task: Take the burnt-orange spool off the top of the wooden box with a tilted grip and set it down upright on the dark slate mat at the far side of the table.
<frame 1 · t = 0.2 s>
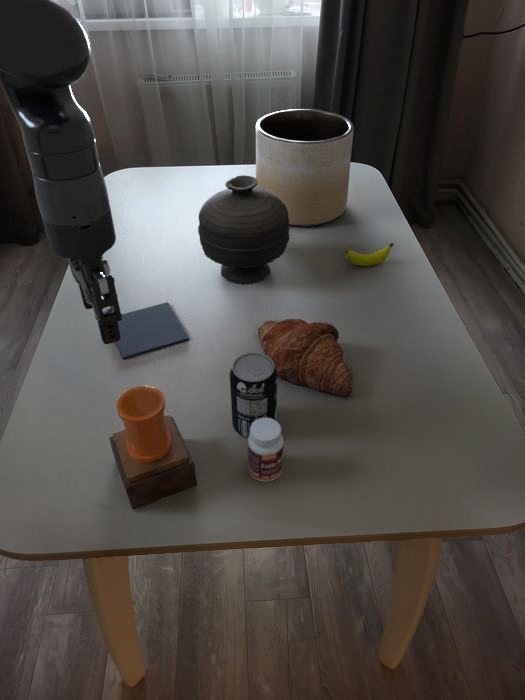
hand: (102, 323, 72), 18 cm above the table, tool pointing down, fingers open, 8 cm apart
mat: (146, 330, 101), on the table
spool: (149, 444, 73), point 6 cm above the table, touching wooden box
pot: (245, 272, 115), on the table
wooden box: (155, 472, 77), on the table
pill bottle: (265, 469, 77), on the table
fruit: (366, 266, 117), on the table
pastry: (301, 364, 94), on the table
planter: (300, 208, 137), on the table
beverage can: (254, 425, 83), on the table
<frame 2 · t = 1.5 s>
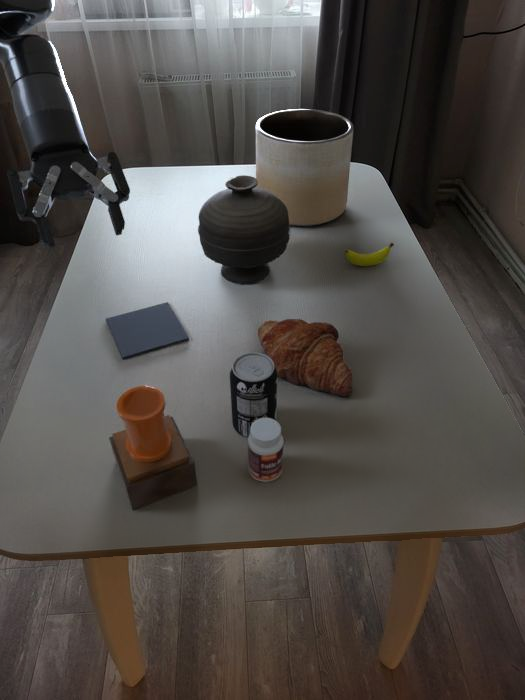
hand: (86, 240, 72), 27 cm above the table, tool tilted 45°, fingers open, 8 cm apart
nothing on the table moved.
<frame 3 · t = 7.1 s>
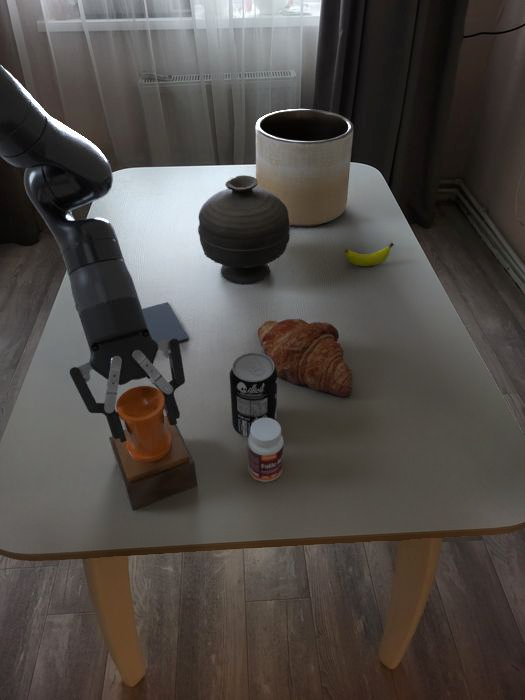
hand: (149, 432, 69), 10 cm above the table, tool tilted 45°, fingers closed on spool, 6 cm apart
spool: (149, 444, 73), point 6 cm above the table, touching gripper, wooden box
everything else where it was.
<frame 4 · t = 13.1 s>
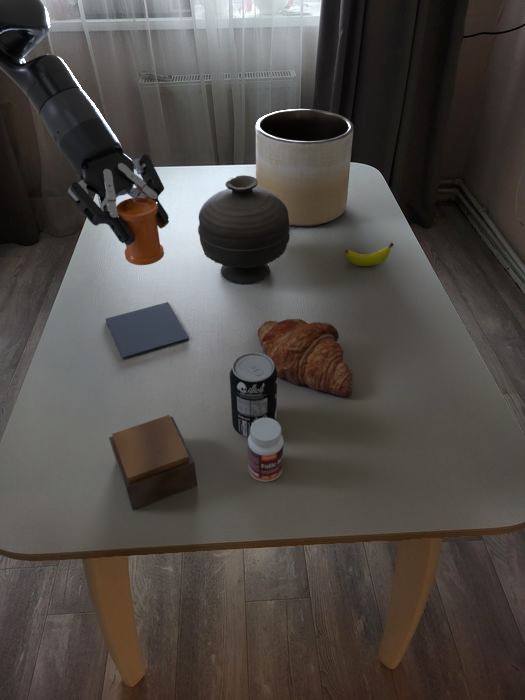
hand: (148, 233, 81), 23 cm above the table, tool tilted 45°, fingers closed on spool, 6 cm apart
spool: (144, 254, 84), point 19 cm above the table, touching gripper
everything else where it was.
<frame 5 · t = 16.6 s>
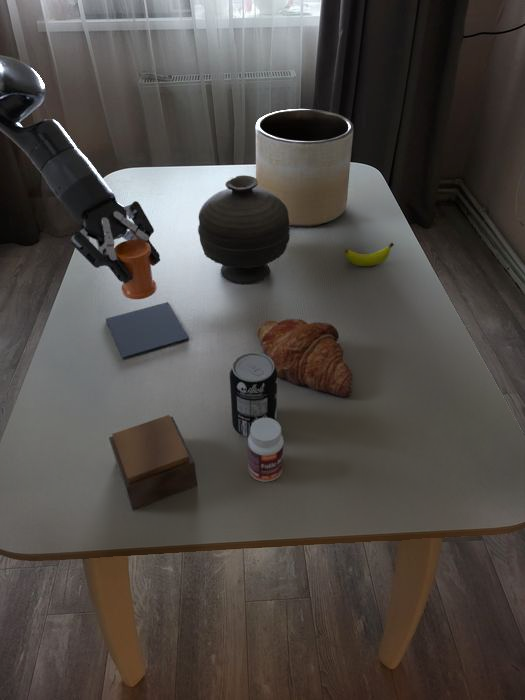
hand: (143, 271, 91), 13 cm above the table, tool tilted 45°, fingers closed on spool, 6 cm apart
spool: (139, 289, 95), point 9 cm above the table, touching gripper
everything else where it was.
when the fingers open (5 cm above the table, at t = 19.5 s): spool stays where it is, resting on mat.
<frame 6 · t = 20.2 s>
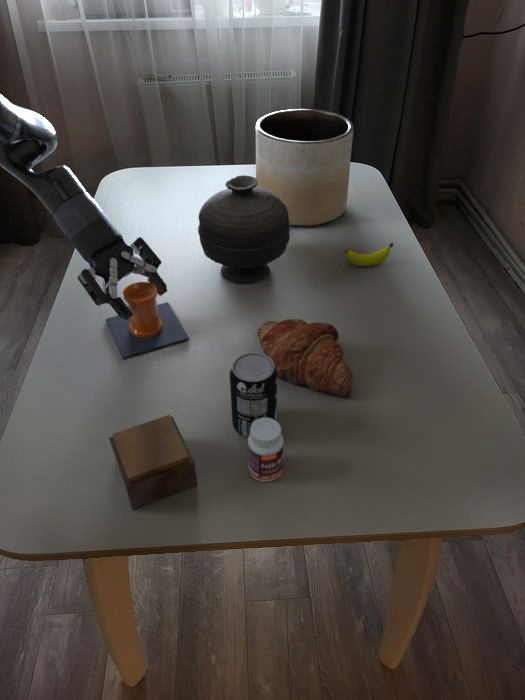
hand: (147, 305, 96), 6 cm above the table, tool tilted 45°, fingers open, 8 cm apart
spool: (146, 327, 100), resting on mat
everything else where it was.
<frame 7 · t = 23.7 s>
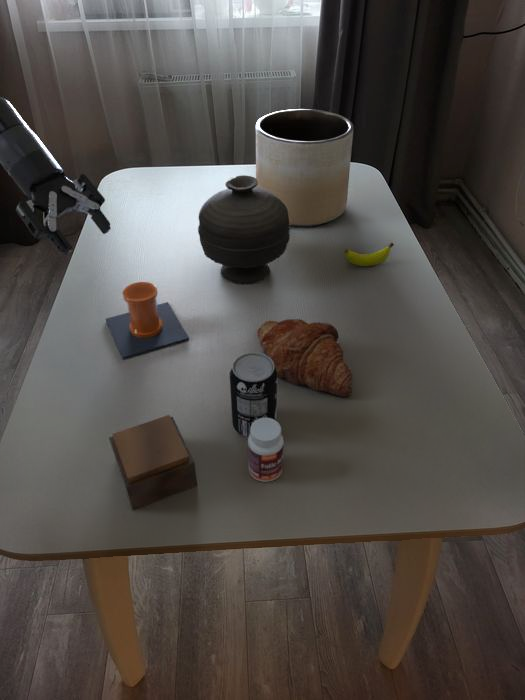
hand: (89, 241, 95), 15 cm above the table, tool tilted 45°, fingers open, 8 cm apart
nothing on the table moved.
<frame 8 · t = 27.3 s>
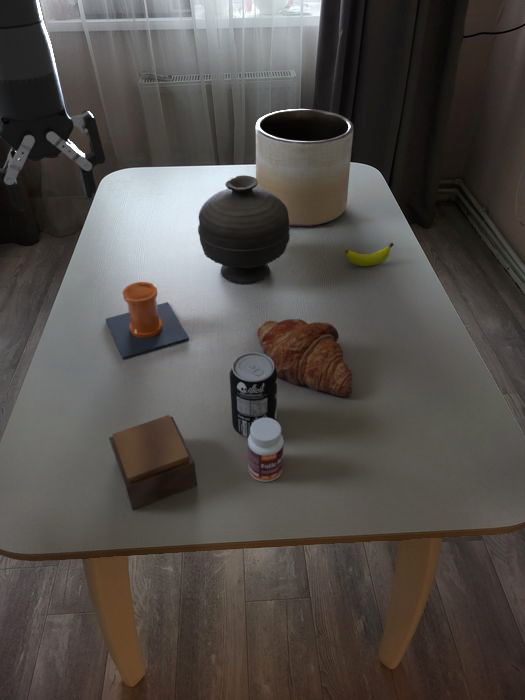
hand: (56, 202, 73), 30 cm above the table, tool pointing down, fingers open, 8 cm apart
nothing on the table moved.
at the end: spool inside the target area on the mat (0.0 cm from its centre), point 0.5 cm above the mat's base; spool tilted 0°; spool touching mat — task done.
